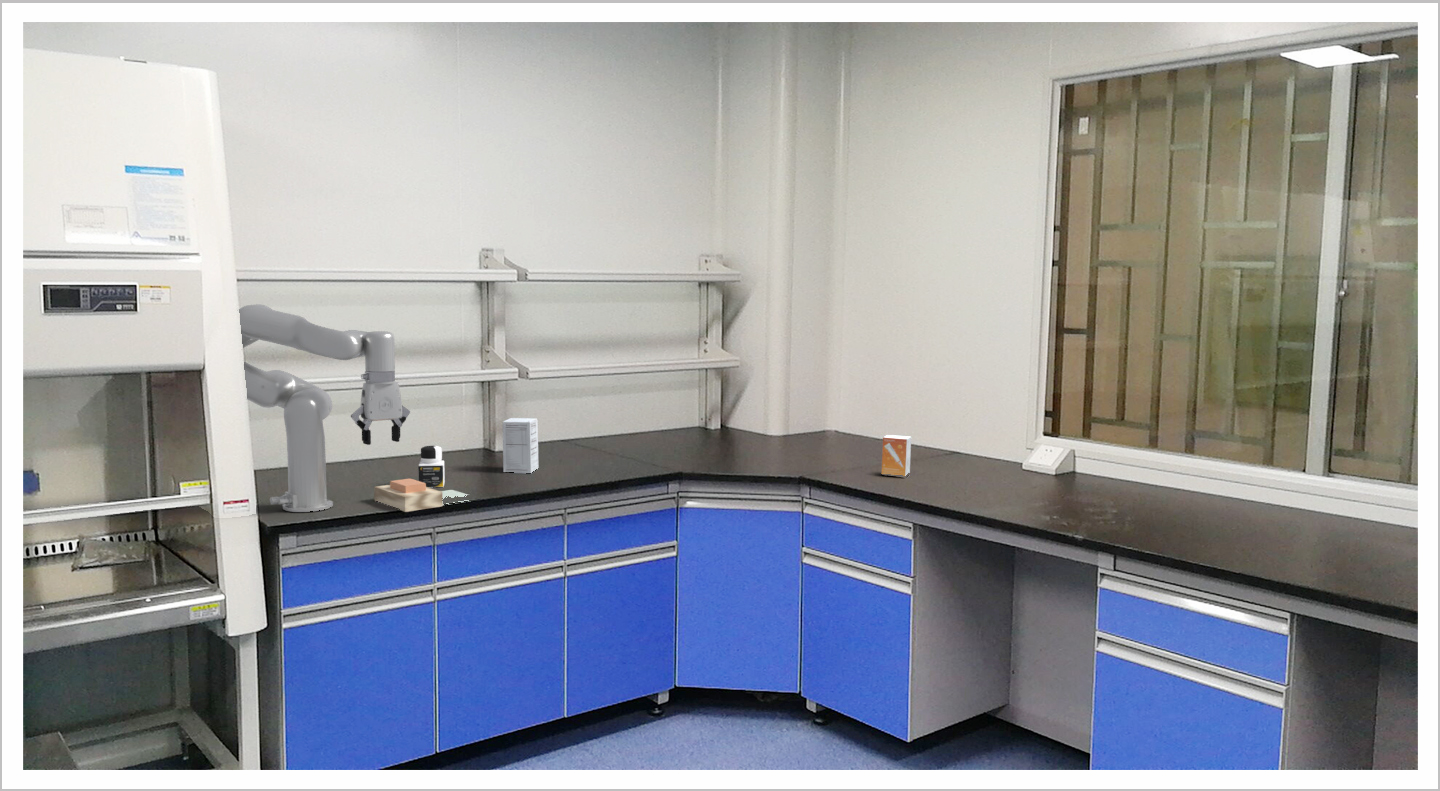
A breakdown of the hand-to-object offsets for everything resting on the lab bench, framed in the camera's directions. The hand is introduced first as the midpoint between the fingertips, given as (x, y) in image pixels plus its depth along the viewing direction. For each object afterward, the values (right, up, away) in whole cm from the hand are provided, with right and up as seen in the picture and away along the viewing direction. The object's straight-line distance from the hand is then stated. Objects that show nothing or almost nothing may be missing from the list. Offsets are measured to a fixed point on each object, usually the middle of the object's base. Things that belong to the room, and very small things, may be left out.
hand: (381, 442), depth 288 cm
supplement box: (+27, -12, +58) cm, 65 cm away
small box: (+149, -14, +60) cm, 161 cm away
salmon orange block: (+5, -13, +7) cm, 16 cm away
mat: (+14, -16, +15) cm, 26 cm away
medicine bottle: (+5, -15, +32) cm, 35 cm away
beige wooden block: (+5, -17, +7) cm, 19 cm away
